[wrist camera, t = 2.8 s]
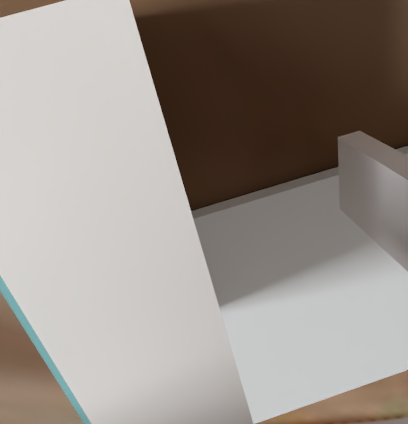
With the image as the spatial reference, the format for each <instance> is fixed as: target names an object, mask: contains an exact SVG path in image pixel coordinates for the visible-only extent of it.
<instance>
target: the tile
mask: <svg viewBox="0 0 408 424" xmlns="http://www.w3.org/2000/svg"><path fill="white" fill-rule="evenodd" d="M0 291H1V293H2V294H3V296H4V298H5V299H6V301H7V302H8V304H9V305H10V307H11V309H12V310H13V312H14V313H15V315H16V317H17V318H18V320H19V321H20V323H21V325H22V326H23V328H24V329H25V331H26V332H27V334H28V336H29V337H30V339H31V340H32V342H33V344H34V345H35V347H36V348H37V350H38V352H39V353H40V355H41V356H42V358H43V359H44V361H45V363H46V364H47V366H48V367H49V369H50V371H51V372H52V374H53V375H54V377H55V379H56V380H57V382H58V383H59V385H60V386H61V388H62V390H63V391H64V393H65V394H66V396H67V398H68V399H69V401H70V402H71V404H72V406H73V407H74V409H75V410H76V412H77V413H78V415H79V417H80V418H81V420H82V421H83V423H84V424H253V420H252V417H251V414H250V410H249V407H248V403H247V400H246V397H245V393H244V390H243V386H242V383H241V380H240V376H239V373H238V369H237V366H236V362H235V359H234V356H233V352H232V349H231V345H230V342H229V339H228V335H227V332H226V328H225V325H224V322H223V318H222V315H221V311H220V308H219V305H218V301H217V298H216V294H215V291H214V288H213V284H212V281H211V277H210V274H209V270H208V267H207V264H206V260H205V257H204V253H203V250H202V247H201V243H200V240H199V236H198V233H197V230H196V226H195V223H194V219H193V216H192V213H191V209H190V206H189V202H188V199H187V196H186V192H185V189H184V185H183V182H182V178H181V175H180V172H179V168H178V165H177V161H176V158H175V155H174V151H173V148H172V144H171V141H170V138H169V134H168V131H167V127H166V124H165V121H164V117H163V114H162V110H161V107H160V104H159V100H158V97H157V93H156V90H155V86H154V83H153V80H152V76H151V73H150V69H149V66H148V63H147V59H146V56H145V52H144V49H143V46H142V42H141V39H140V35H139V32H138V29H137V25H136V22H135V18H134V15H133V12H132V8H131V5H130V1H129V0H65V1H62V2H58V3H54V4H50V5H47V6H43V7H39V8H35V9H32V10H28V11H24V12H20V13H17V14H13V15H9V16H5V17H2V18H0Z"/></svg>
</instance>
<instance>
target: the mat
mask: <svg viewBox="0 0 408 424" xmlns="http://www.w3.org/2000/svg"><path fill="white" fill-rule="evenodd" d="M395 150H397V151H399V152H401V153H403V154H405V155H407V156H408V146H405V147H402V148H398V149H395ZM191 213H192V216H193V219H194V223H195V226H196V230H197V233H198V236H199V240H200V243H201V247H202V250H203V253H204V257H205V260H206V264H207V267H208V270H209V274H210V277H211V281H212V284H213V288H214V291H215V294H216V298H217V301H218V305H219V308H220V311H221V315H222V318H223V322H224V325H225V328H226V332H227V335H228V339H229V342H230V345H231V349H232V352H233V356H234V359H235V362H236V366H237V369H238V373H239V376H240V380H241V383H242V386H243V390H244V393H245V397H246V400H247V403H248V407H249V410H250V414H251V417H252V420H253V424H255V423H258V422H261V421H264V420H267V419H270V418H272V417H275V416H278V415H281V414H284V413H287V412H289V411H292V410H295V409H298V408H301V407H304V406H306V405H309V404H312V403H315V402H318V401H321V400H323V399H326V398H329V397H332V396H335V395H338V394H340V393H343V392H346V391H349V390H352V389H355V388H357V387H360V386H363V385H366V384H369V383H372V382H374V381H377V380H380V379H383V378H386V377H389V376H392V375H394V374H397V373H400V372H403V371H406V370H408V271H406V270H405V269H404V268H403V267H402V266H401V265H400V264H399V263H398V262H397V261H396V260H395V259H393V258H392V257H391V256H390V255H389V254H388V253H387V252H386V251H385V250H384V249H383V248H381V247H380V246H379V245H378V244H377V243H376V242H375V241H374V240H373V239H372V238H371V237H370V236H368V235H367V234H366V233H365V232H364V231H363V230H362V229H361V228H360V227H359V226H358V225H356V224H355V223H354V222H353V221H352V220H351V219H350V218H349V217H348V216H347V215H346V214H345V213H343V212H342V211H341V210H340V202H339V167H336V168H332V169H329V170H326V171H322V172H319V173H316V174H312V175H309V176H306V177H302V178H299V179H296V180H293V181H289V182H286V183H283V184H279V185H276V186H273V187H269V188H266V189H263V190H259V191H256V192H253V193H250V194H246V195H243V196H240V197H236V198H233V199H230V200H226V201H223V202H220V203H216V204H213V205H210V206H206V207H203V208H200V209H197V210H193V211H191Z"/></svg>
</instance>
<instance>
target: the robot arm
mask: <svg viewBox="0 0 408 424" xmlns="http://www.w3.org/2000/svg"><path fill="white" fill-rule="evenodd" d="M338 167H339V202H340V210H341V211H342V212H343V213H345V214H346V215H347V216H348V217H349V218H350V219H351V220H352V221H353V222H354V223H355V224H356V225H358V226H359V227H360V228H361V229H362V230H363V231H364V232H365V233H366V234H367V235H368V236H370V237H371V238H372V239H373V240H374V241H375V242H376V243H377V244H378V245H379V246H380V247H381V248H383V249H384V250H385V251H386V252H387V253H388V254H389V255H390V256H391V257H392V258H393V259H395V260H396V261H397V262H398V263H399V264H400V265H401V266H402V267H403V268H404V269H405V270H406V271H408V156H407V155H405V154H403V153H401V152H399V151H397V150H395V149H394V148H392V147H390V146H388V145H386V144H384V143H382V142H380V141H378V140H377V139H375V138H373V137H371V136H369V135H367V134H365V133H363V132H361V131H357V132H354V133H350V134H347V135H343V136H340V137H338Z"/></svg>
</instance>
